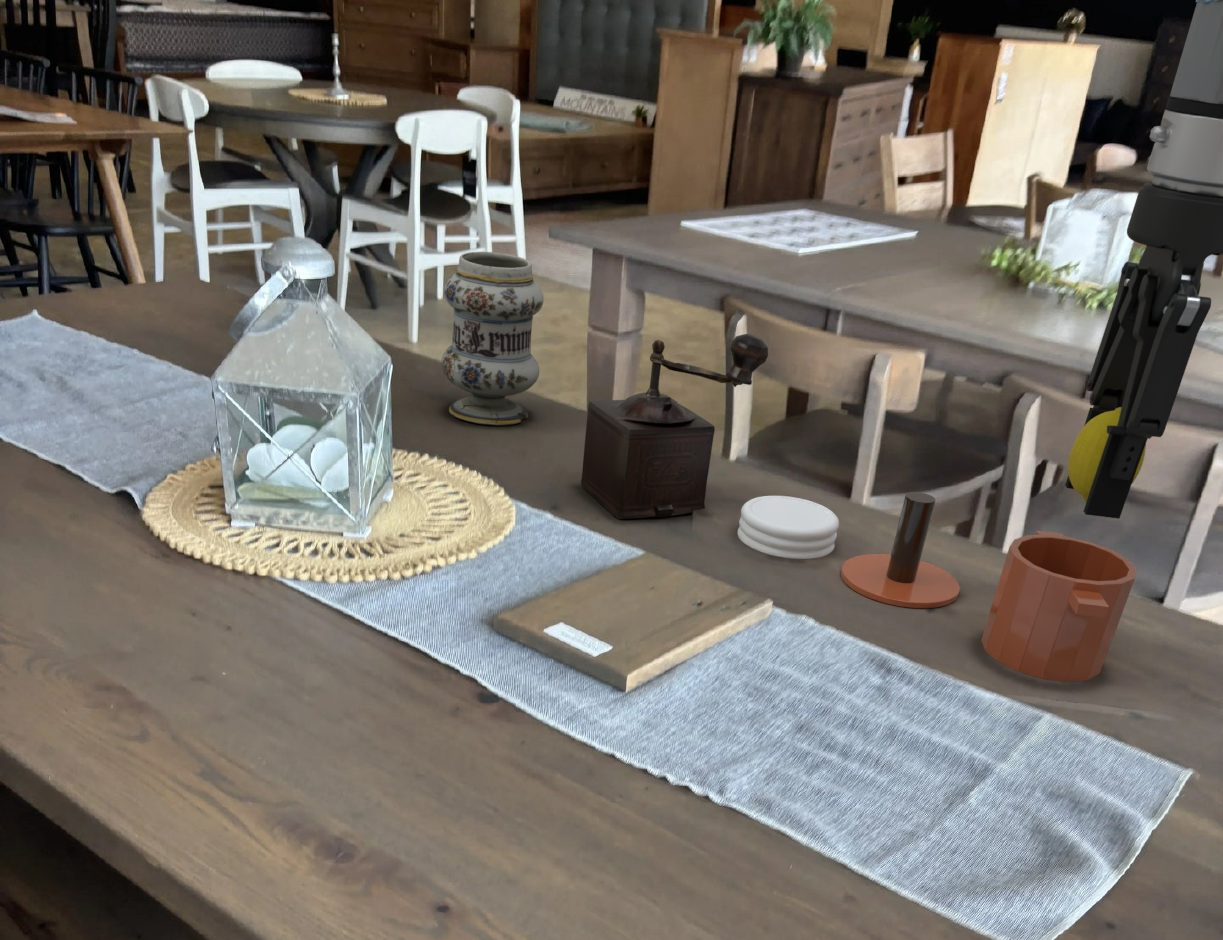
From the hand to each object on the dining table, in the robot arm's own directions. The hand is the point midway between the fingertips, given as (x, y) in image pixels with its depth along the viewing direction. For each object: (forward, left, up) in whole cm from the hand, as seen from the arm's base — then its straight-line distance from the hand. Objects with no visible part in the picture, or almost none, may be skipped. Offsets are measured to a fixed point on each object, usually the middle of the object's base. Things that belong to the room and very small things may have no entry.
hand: (1091, 500), depth 98 cm
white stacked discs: (+22, -20, -15) cm, 33 cm away
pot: (0, 0, -15) cm, 15 cm away
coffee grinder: (+35, -29, -15) cm, 48 cm away
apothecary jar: (+58, -52, -15) cm, 79 cm away
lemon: (0, 0, -1) cm, 1 cm away
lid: (+11, -12, -14) cm, 22 cm away
